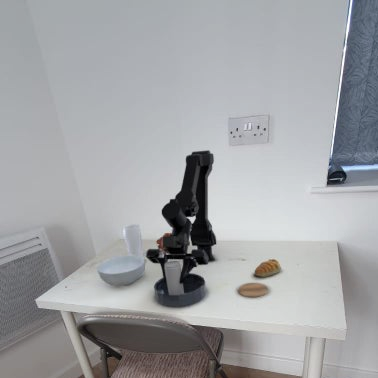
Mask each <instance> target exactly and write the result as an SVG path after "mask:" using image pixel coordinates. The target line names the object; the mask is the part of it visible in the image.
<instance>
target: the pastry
mask: <svg viewBox="0 0 378 378" xmlns="http://www.w3.org/2000/svg"><path fill="white" fill-rule="evenodd" d="M281 270H282V266H281V264H280V263H279V260H277V259H274V258H271V259H270V258H269V259H268V260H266V261H262V262H261V263H260V264H259V265H258V266H257V267H256V268H255V270H254V275H255V276H258V277H261V278H266V277H270V276H273V275H276V274H278V273H280V271H281Z"/></svg>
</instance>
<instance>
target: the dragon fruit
mask: <svg viewBox="0 0 378 378" xmlns="http://www.w3.org/2000/svg"><path fill="white" fill-rule="evenodd" d="M170 234H172V232H165V233H164V234H163V235H162V236H169V235H170ZM162 236H161V237H160V238H158V239H156V242H155V243H156V244H157V249H160V250H164V253H168V251H166V250H165V248H166V247H163V248H162Z"/></svg>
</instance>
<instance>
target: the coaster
mask: <svg viewBox="0 0 378 378" xmlns="http://www.w3.org/2000/svg"><path fill="white" fill-rule="evenodd" d="M268 288H269V287H267V285H265V284H263V283H258V282H248V283H245V284H242V285H241V286H239V287H238V293H239V295H241V296H243V297H247V298H259V297H262V296H265V295H266V294H268V292H269V291H268V290H269V289H268Z"/></svg>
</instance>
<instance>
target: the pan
mask: <svg viewBox="0 0 378 378" xmlns="http://www.w3.org/2000/svg"><path fill="white" fill-rule="evenodd" d="M183 289H184V294H181V295H169V292H168V286H167V283H165V282H164V279H163V277H161V278H160V279H158V280H157V281H156V282H155V283H154V285H153V291H154V296H155V300H156V302H157V303H158V304H160V305H161V306H163V307H168V308H184V307H189V306H193V305H195V304H198V303H200V301H202V300H203V299H204V298H205V296H206V294H207V288H206V280H205V278H204V277H203V276H201V275H199V274H197V273H192V272H190V273H189V274H188V275H187V277H186V278H185V280H184V281H183Z"/></svg>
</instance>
